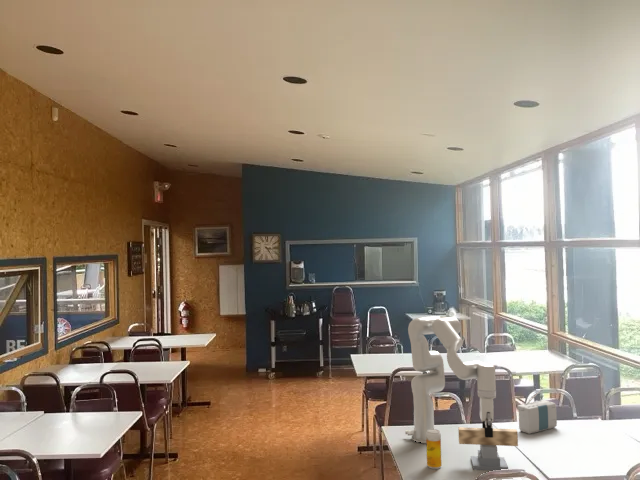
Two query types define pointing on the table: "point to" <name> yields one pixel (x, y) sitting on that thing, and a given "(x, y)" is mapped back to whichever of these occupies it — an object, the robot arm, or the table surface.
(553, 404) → the stereo radio cassette player
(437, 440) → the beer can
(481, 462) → the fulcrum stand
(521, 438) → the table surface
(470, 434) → the tan long bar
